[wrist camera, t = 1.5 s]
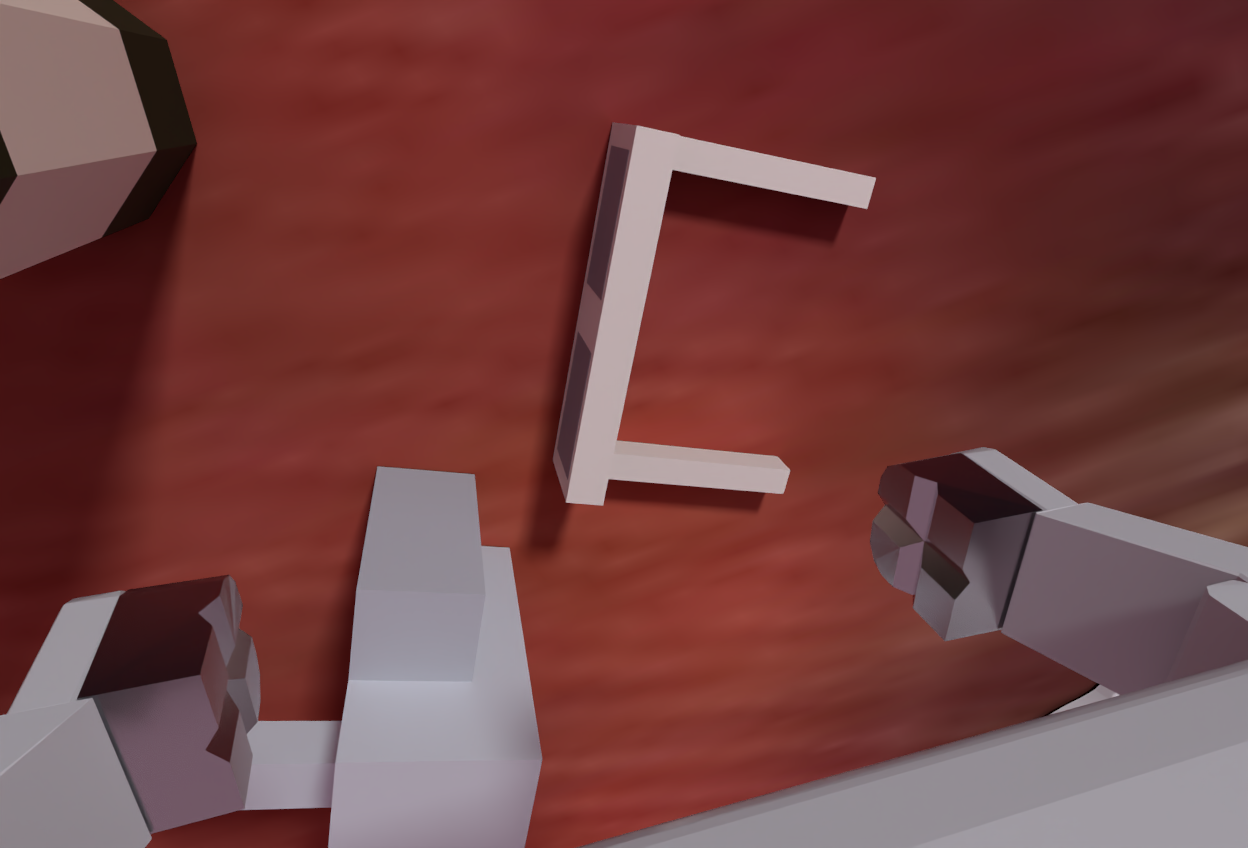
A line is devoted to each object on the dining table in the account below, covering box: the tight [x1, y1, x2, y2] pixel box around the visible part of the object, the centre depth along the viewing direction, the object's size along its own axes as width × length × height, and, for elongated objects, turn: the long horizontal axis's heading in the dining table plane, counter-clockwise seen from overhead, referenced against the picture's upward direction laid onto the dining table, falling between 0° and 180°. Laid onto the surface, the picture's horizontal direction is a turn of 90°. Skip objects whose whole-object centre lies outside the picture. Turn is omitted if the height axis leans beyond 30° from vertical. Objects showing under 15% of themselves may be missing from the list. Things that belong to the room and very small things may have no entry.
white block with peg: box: [242, 466, 542, 848], centre depth 29 cm, size 13×16×12 cm
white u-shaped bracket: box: [553, 123, 876, 505], centre depth 31 cm, size 10×14×4 cm
